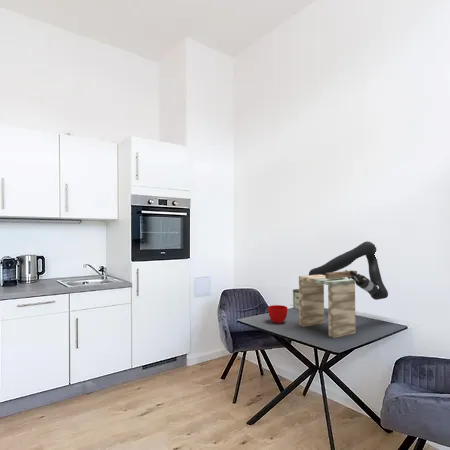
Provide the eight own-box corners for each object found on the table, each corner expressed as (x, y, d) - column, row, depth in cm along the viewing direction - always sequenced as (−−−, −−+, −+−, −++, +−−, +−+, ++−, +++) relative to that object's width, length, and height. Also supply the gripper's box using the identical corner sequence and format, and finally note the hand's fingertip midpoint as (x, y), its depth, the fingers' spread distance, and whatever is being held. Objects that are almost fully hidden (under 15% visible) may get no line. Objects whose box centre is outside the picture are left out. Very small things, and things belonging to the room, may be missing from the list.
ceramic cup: (286, 318, 243) (286, 304, 243) (288, 324, 226) (288, 309, 226) (267, 317, 244) (267, 303, 244) (268, 324, 227) (268, 309, 227)
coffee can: (304, 306, 279) (304, 288, 279) (307, 309, 268) (307, 291, 269) (291, 306, 279) (291, 289, 279) (294, 309, 268) (294, 291, 268)
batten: (325, 278, 210) (325, 273, 210) (352, 275, 220) (352, 270, 220) (330, 279, 206) (330, 273, 206) (357, 276, 217) (357, 271, 217)
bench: (299, 325, 225) (298, 276, 225) (319, 321, 234) (319, 274, 234) (333, 337, 199) (333, 282, 199) (355, 333, 207) (354, 280, 207)
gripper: (357, 276, 230) (341, 265, 223) (375, 279, 217) (359, 267, 211) (353, 287, 228) (337, 275, 221) (371, 290, 216) (354, 278, 209)
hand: (348, 271), depth 216 cm, fingers closed on batten, 3 cm apart
